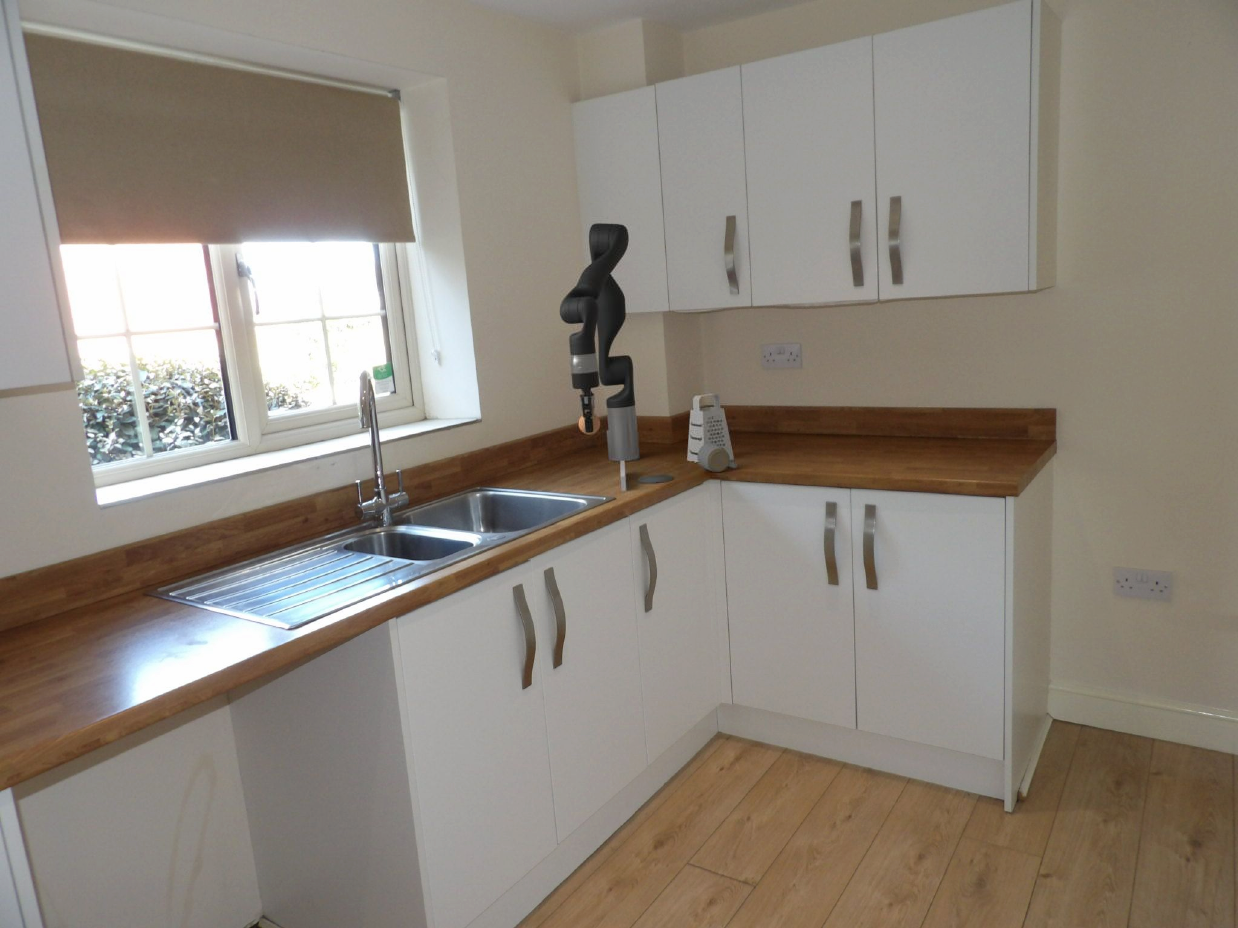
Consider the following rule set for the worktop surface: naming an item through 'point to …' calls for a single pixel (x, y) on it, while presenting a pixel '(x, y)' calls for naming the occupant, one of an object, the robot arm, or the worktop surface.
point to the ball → (595, 424)
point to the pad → (655, 478)
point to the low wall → (623, 475)
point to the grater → (707, 428)
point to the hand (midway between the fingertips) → (590, 430)
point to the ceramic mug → (714, 458)
